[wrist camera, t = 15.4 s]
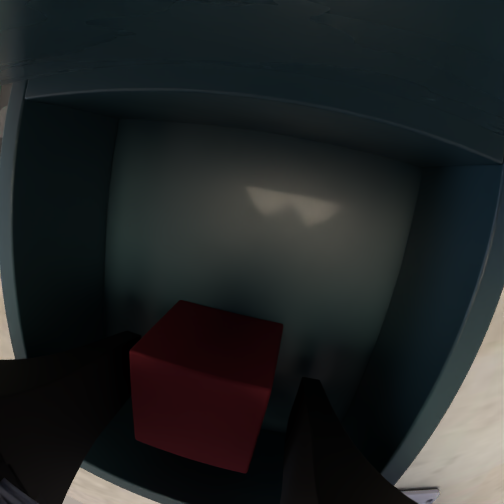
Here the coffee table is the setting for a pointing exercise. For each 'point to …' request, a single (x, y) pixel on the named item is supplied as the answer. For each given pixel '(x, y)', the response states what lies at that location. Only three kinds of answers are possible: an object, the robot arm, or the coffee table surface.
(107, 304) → the grey-green open box
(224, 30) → the lid
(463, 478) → the coffee table surface
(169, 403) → the block
